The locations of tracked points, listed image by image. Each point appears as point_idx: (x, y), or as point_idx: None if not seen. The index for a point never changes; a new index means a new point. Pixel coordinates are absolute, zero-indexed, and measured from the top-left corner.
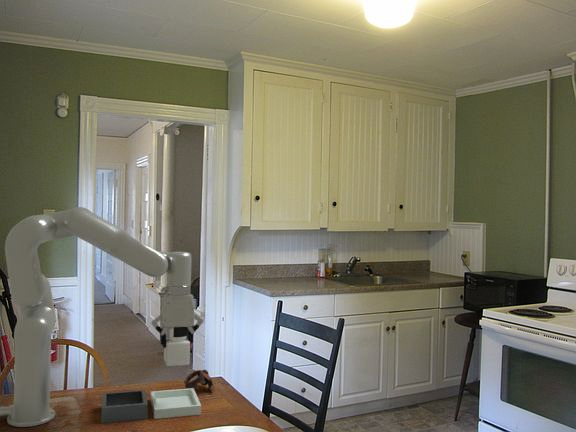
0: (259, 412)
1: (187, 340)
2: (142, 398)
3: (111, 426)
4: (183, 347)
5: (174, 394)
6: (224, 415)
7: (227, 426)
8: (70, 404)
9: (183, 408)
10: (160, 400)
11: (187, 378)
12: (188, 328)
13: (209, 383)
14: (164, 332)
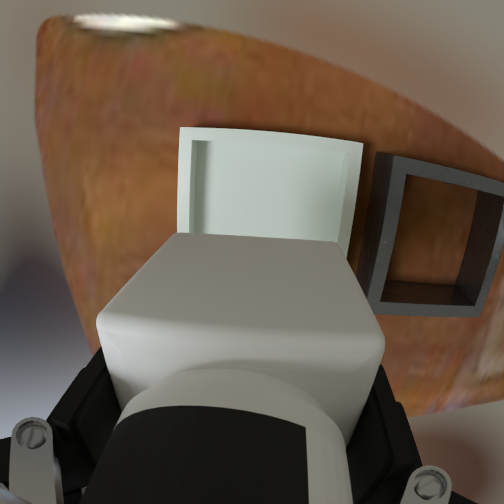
0: (35, 112)
1: (121, 385)
2: (394, 233)
3: (471, 144)
4: (184, 294)
5: None
6: (120, 104)
7: (136, 23)
8: (500, 330)
9: (250, 130)
10: None
11: None
12: (54, 492)
13: None
14: (412, 497)
